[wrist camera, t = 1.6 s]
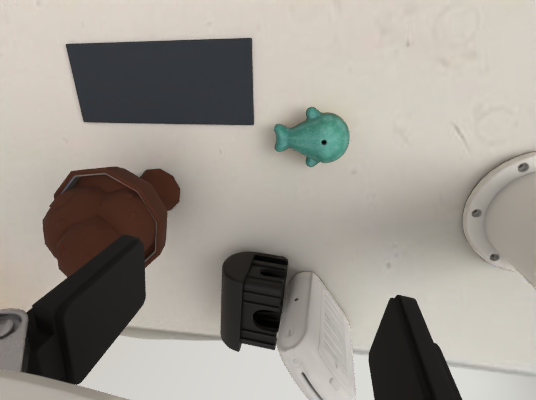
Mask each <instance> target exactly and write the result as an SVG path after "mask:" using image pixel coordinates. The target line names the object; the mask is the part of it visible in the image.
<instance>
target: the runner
mask: <svg viewBox="0 0 536 400" xmlns="http://www.w3.org/2000/svg"><path fill="white" fill-rule="evenodd" d="M66 47H67V52H68V56H69V60H70V65H71V69H72V73H73V78H74V82H75V86H76V91H77V95H78V99H79V103H80V108H81V112H82V116H83V121H84V122H108V123H165V124H223V125H254V113H253V74H252V39H251V38H238V39H208V40H178V41H147V42H117V43H86V44H66Z"/></svg>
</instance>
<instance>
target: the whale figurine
mask: <svg viewBox="0 0 536 400" xmlns="http://www.w3.org/2000/svg"><path fill="white" fill-rule="evenodd" d="M306 116H307V120H306V121H304V122H302V123H300V124H298V125H296V126H295V127H293V128H287V127H286V126H284V125H281V124H276V125H275V127H274V131H275V133H276V144H275V150H276V151H278V152H282V151H284V150H286V149H288V148H292V149H294V150H296V151H298V152H300V153H302V154H304V155H306V157H307V158H306V164H307V166H309V167H313V166H315V165H316V164H318V163H319V162H322V163H329V162H333V161H335V160H337V159H338V158H340V157H341V156H342V155H343V154H344V153H345V151H346V149H347V147H348V144H349V130H348V127H347V125H346V123H345V122H344V120H343V119H342V118H341V117H339V116H338V115H336V114H333V113H321V112H319V111H318V110H317V109H316V108H314V107H310V108H308V109H307V111H306Z"/></svg>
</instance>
